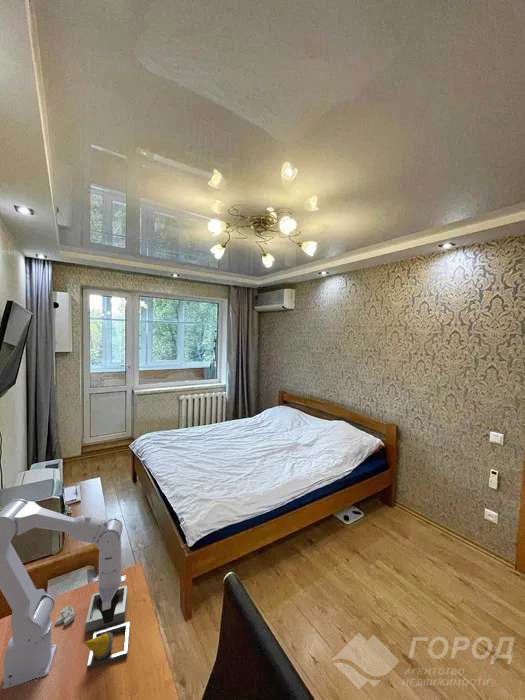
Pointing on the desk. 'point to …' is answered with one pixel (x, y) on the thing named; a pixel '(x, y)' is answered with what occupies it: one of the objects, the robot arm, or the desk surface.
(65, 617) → the game controller
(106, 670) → the desk surface
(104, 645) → the drill bit
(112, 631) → the grey square frame
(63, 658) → the desk surface
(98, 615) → the bin
